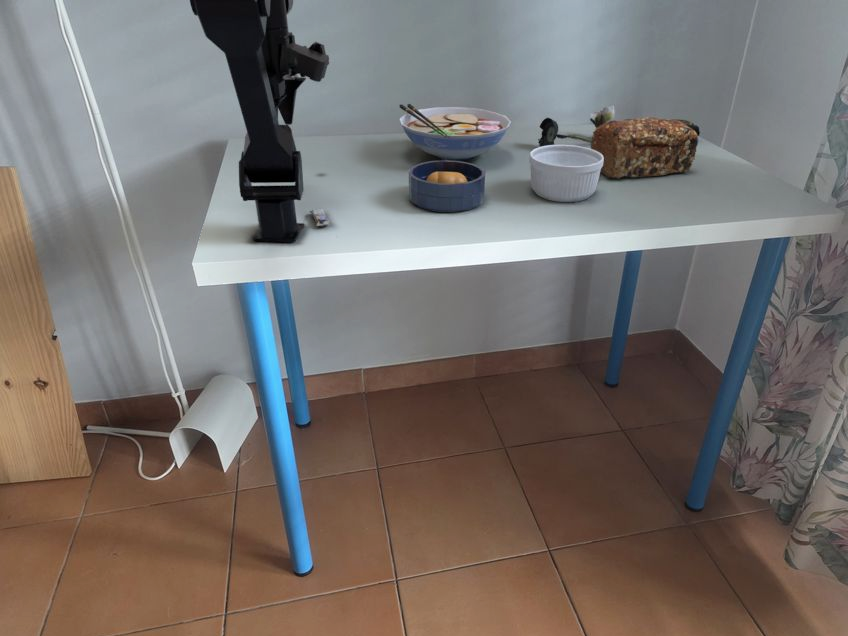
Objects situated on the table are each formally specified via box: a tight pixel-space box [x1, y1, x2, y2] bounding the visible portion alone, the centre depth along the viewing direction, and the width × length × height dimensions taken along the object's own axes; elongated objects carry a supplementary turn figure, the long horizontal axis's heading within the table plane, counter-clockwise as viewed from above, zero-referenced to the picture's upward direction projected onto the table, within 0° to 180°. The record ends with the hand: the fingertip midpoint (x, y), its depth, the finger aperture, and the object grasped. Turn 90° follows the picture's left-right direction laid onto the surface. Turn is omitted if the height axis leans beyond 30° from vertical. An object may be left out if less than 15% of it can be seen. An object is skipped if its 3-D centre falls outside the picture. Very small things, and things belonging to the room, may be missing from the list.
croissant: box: [426, 172, 467, 184], centre depth 118 cm, size 5×9×4 cm, turn 88°
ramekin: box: [528, 144, 604, 203], centre depth 122 cm, size 13×13×7 cm
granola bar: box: [309, 208, 331, 227], centre depth 109 cm, size 7×2×1 cm, turn 21°
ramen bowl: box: [399, 103, 512, 162], centre depth 139 cm, size 25×23×8 cm
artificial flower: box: [537, 104, 616, 147], centre depth 150 cm, size 9×22×10 cm, turn 116°
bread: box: [590, 117, 699, 180], centre depth 134 cm, size 19×11×10 cm, turn 109°
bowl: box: [408, 159, 486, 213], centre depth 118 cm, size 13×13×5 cm
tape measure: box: [673, 118, 701, 137], centre depth 156 cm, size 7×7×4 cm
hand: (281, 131), depth 110 cm, fingers open, 9 cm apart
